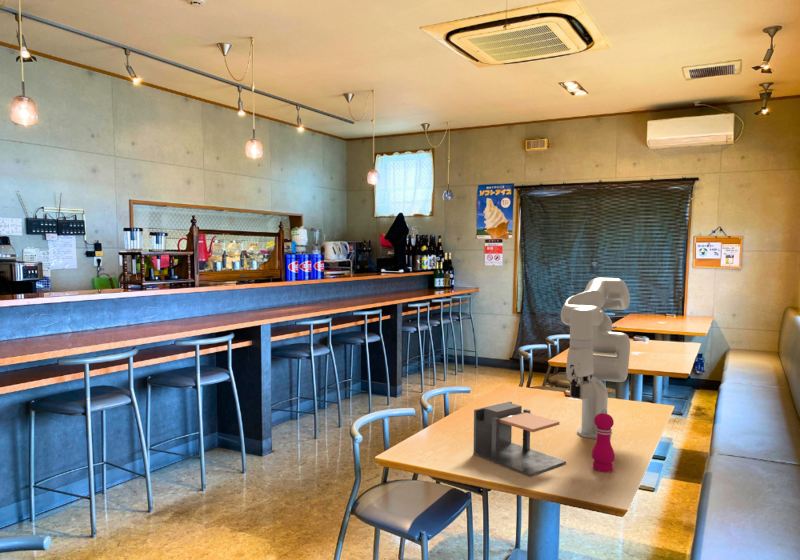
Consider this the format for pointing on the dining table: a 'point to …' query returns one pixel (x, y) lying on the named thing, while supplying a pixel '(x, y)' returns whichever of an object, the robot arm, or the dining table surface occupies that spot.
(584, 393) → the light grey cube
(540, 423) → the trapdoor
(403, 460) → the dining table surface
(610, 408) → the dining table surface
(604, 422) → the pepper mill
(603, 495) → the dining table surface
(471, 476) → the dining table surface
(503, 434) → the frame
